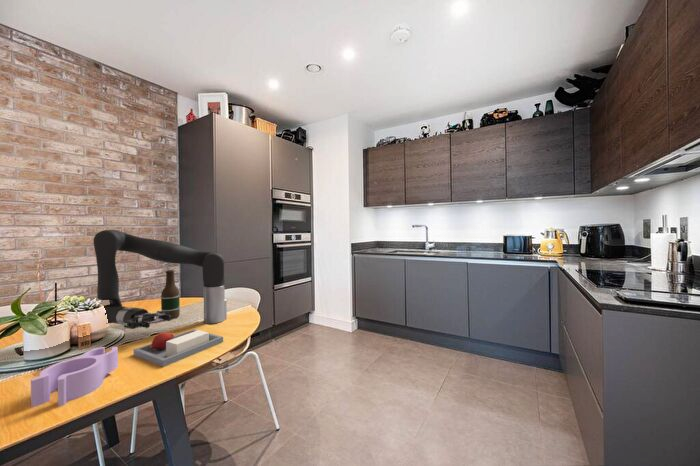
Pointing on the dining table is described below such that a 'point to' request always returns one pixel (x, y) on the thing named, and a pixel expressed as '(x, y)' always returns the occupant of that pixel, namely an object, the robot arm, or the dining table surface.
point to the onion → (161, 340)
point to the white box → (186, 342)
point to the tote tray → (163, 360)
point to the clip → (74, 376)
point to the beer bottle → (170, 296)
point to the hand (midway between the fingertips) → (159, 321)
